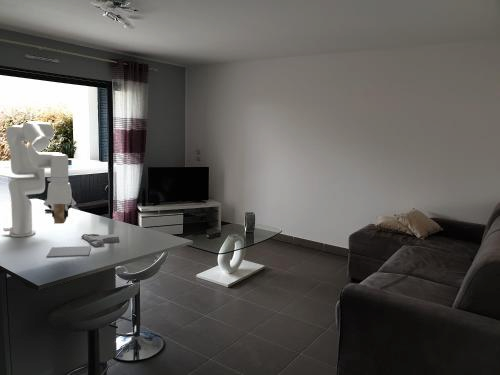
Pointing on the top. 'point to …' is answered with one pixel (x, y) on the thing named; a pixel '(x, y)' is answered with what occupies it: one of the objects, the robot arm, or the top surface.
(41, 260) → the top surface
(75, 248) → the rubber mat
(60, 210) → the wooden block
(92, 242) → the pistol
